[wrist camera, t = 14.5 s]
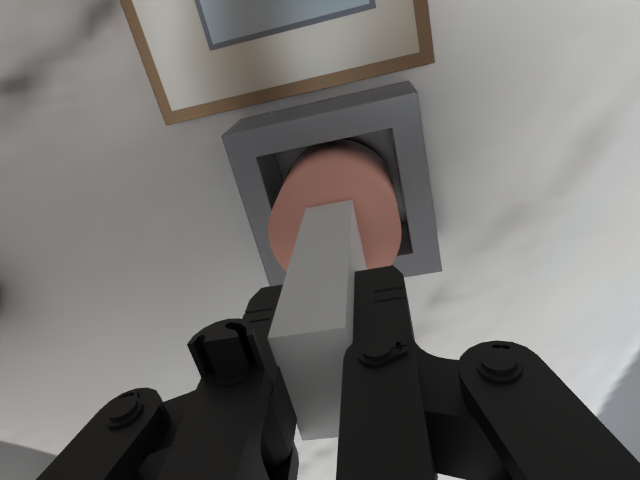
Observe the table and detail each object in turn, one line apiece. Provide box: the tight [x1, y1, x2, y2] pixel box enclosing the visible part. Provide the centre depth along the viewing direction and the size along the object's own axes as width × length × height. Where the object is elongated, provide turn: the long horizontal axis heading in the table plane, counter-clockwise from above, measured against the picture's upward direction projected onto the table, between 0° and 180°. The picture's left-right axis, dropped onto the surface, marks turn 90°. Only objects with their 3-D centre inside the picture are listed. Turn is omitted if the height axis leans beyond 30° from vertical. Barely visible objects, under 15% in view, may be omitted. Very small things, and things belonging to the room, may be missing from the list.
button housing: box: [222, 81, 442, 286], centre depth 19 cm, size 7×7×3 cm
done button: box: [268, 140, 402, 272], centre depth 17 cm, size 4×4×4 cm
